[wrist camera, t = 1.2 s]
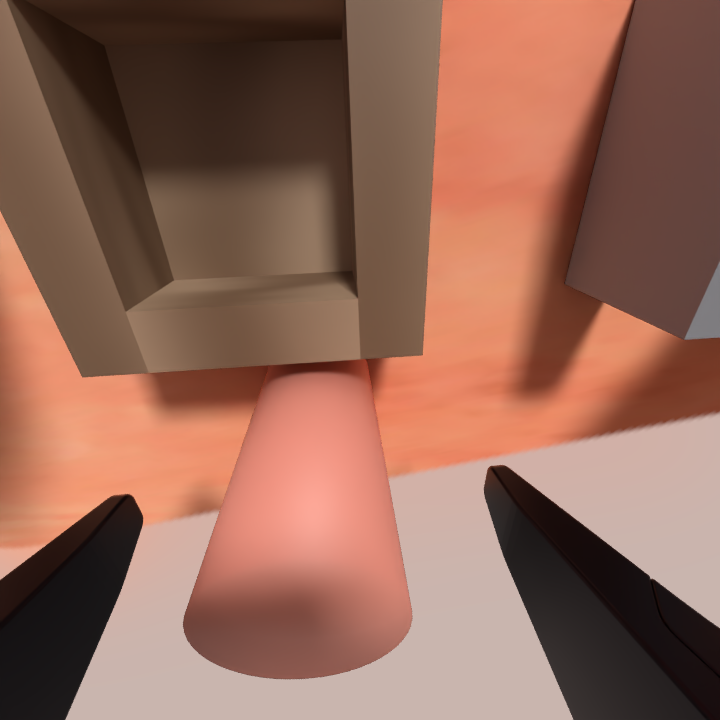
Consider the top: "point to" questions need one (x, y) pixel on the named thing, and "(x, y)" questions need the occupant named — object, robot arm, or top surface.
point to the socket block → (222, 176)
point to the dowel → (304, 536)
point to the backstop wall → (659, 176)
